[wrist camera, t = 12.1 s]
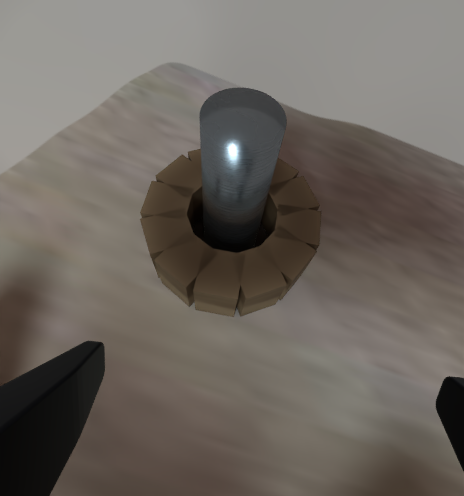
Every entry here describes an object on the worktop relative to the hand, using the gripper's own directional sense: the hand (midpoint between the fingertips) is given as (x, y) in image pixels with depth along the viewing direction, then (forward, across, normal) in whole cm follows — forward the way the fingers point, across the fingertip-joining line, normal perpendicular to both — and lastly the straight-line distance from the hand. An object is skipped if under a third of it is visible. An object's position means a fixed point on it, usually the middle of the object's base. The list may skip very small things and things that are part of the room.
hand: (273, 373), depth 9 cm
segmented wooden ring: (+18, +1, +2) cm, 18 cm away
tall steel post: (+18, +1, +2) cm, 18 cm away
